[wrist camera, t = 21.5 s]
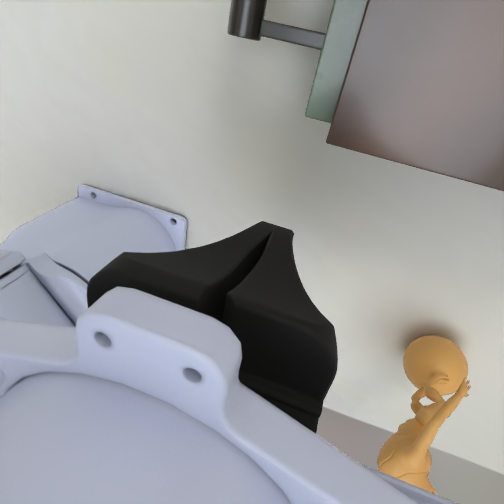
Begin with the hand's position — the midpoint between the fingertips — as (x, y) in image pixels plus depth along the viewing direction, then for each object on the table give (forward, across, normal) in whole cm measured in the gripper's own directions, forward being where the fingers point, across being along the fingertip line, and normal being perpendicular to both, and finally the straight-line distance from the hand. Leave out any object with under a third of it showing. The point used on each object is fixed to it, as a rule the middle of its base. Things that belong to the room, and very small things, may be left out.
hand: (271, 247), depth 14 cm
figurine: (+11, -11, +10) cm, 18 cm away
